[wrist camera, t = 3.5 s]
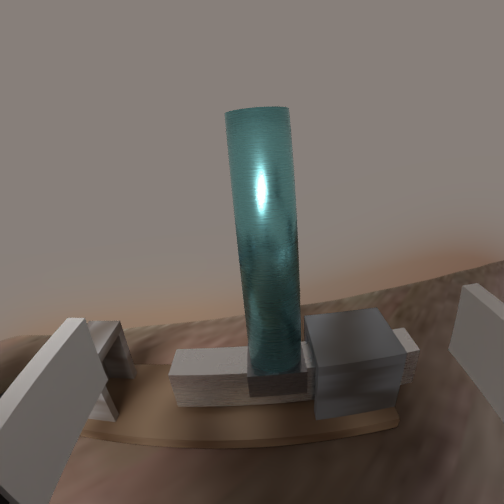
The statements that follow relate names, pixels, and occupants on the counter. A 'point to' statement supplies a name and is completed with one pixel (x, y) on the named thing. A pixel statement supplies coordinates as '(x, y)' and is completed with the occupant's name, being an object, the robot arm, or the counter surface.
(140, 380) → the bench
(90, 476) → the counter surface
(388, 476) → the counter surface
